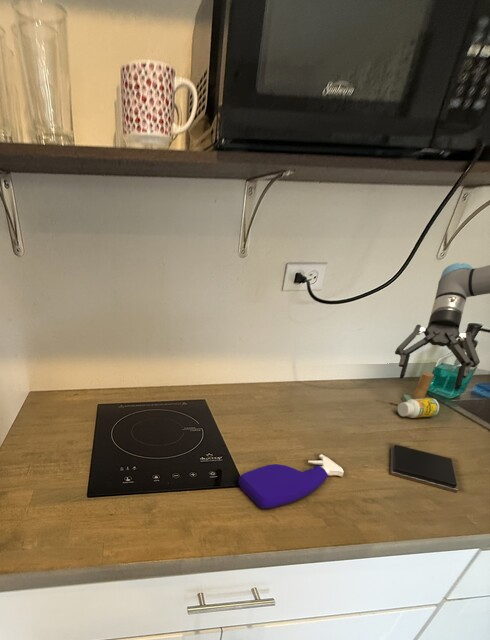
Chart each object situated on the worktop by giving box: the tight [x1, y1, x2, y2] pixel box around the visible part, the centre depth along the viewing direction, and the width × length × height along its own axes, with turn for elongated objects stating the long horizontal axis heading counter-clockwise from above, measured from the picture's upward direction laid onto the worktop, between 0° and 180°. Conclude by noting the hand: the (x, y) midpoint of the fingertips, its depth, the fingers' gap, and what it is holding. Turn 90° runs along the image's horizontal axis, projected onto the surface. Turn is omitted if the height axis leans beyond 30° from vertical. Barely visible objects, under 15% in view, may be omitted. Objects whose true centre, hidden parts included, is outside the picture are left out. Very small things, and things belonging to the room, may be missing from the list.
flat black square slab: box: [389, 444, 459, 494], centre depth 90 cm, size 13×12×2 cm
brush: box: [401, 371, 435, 402], centre depth 115 cm, size 7×4×10 cm, turn 77°
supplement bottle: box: [397, 397, 440, 419], centre depth 111 cm, size 5×5×10 cm
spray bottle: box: [238, 453, 345, 510], centre depth 84 cm, size 3×11×24 cm
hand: (429, 382), depth 108 cm, fingers open, 13 cm apart
